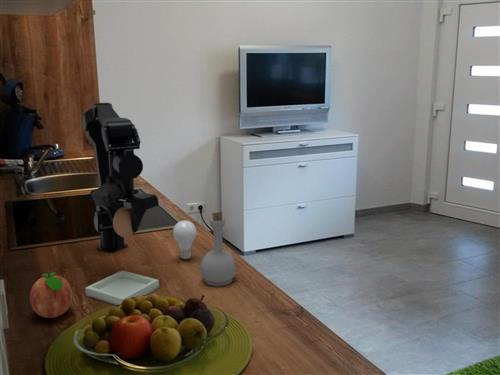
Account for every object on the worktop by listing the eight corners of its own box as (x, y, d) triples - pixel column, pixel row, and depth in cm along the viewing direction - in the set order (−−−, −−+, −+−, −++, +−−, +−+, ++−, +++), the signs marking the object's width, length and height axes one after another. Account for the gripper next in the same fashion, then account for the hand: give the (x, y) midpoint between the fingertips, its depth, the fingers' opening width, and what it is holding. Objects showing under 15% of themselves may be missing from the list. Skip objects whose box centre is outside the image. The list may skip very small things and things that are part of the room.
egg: (109, 239, 133) (106, 209, 131) (122, 231, 139) (120, 203, 137) (129, 241, 131) (127, 211, 129) (142, 234, 137) (140, 205, 135)
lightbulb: (193, 264, 141) (191, 225, 138) (170, 262, 142) (169, 223, 140) (200, 255, 147) (198, 218, 144) (178, 254, 148) (177, 217, 146)
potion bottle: (210, 290, 125) (208, 218, 121) (196, 277, 133) (193, 208, 128) (242, 283, 129) (242, 213, 125) (227, 270, 137) (226, 204, 132)
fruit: (32, 328, 108) (27, 283, 106) (31, 308, 117) (26, 266, 114) (76, 319, 112) (72, 276, 109) (71, 301, 120) (67, 260, 118)
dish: (85, 295, 123) (85, 287, 122) (122, 277, 133) (122, 270, 132) (123, 307, 117) (122, 299, 116) (159, 287, 127) (158, 280, 126)
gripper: (70, 173, 129) (75, 233, 133) (125, 181, 119) (130, 246, 123) (104, 165, 138) (108, 221, 142) (158, 172, 129) (161, 232, 132)
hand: (125, 230), depth 134 cm, fingers closed on egg, 6 cm apart
